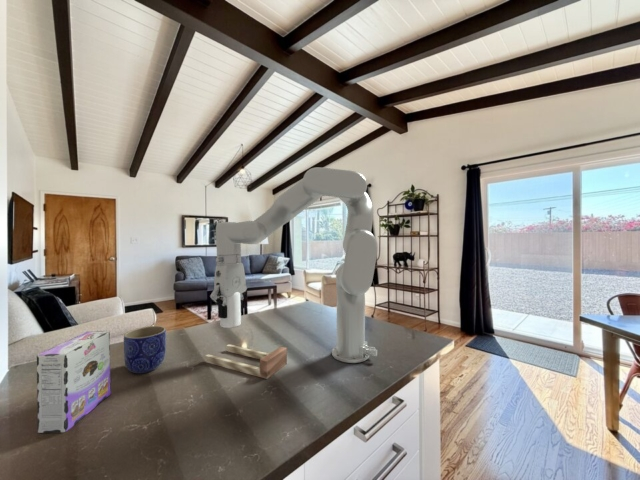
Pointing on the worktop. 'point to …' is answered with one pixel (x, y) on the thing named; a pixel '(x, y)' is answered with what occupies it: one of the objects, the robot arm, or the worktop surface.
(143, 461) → the worktop surface
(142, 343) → the planter
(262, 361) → the rail channel
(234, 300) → the can
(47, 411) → the candy box
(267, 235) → the robot arm
